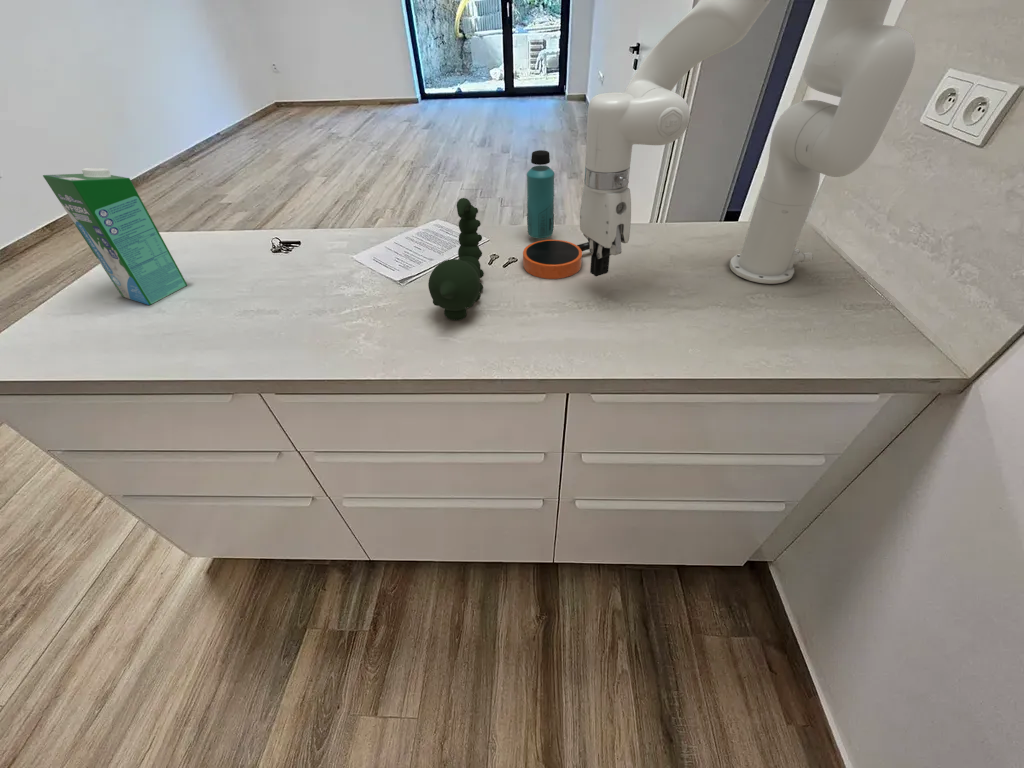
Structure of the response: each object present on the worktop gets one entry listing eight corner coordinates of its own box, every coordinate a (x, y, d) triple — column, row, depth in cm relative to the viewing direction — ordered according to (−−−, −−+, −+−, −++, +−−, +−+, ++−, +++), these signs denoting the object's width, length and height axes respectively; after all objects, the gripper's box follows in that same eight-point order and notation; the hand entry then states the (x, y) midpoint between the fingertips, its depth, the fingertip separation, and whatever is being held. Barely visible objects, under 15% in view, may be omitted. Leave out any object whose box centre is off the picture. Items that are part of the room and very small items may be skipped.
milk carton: (188, 285, 104) (123, 164, 87) (149, 305, 98) (71, 180, 81) (161, 277, 107) (93, 160, 90) (121, 297, 101) (41, 174, 84)
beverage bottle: (551, 245, 114) (554, 156, 100) (524, 243, 115) (523, 155, 101) (555, 234, 118) (558, 147, 105) (529, 232, 119) (528, 147, 106)
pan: (541, 284, 100) (541, 271, 98) (513, 260, 108) (512, 247, 106) (618, 261, 106) (620, 249, 104) (586, 240, 115) (587, 228, 113)
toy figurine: (453, 279, 106) (422, 335, 86) (445, 190, 95) (407, 231, 75) (495, 281, 105) (473, 338, 85) (491, 191, 93) (465, 233, 73)
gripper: (652, 185, 78) (638, 284, 90) (599, 162, 88) (593, 253, 100) (614, 194, 75) (605, 295, 87) (564, 170, 85) (563, 263, 98)
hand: (599, 272), depth 94 cm, fingers closed
